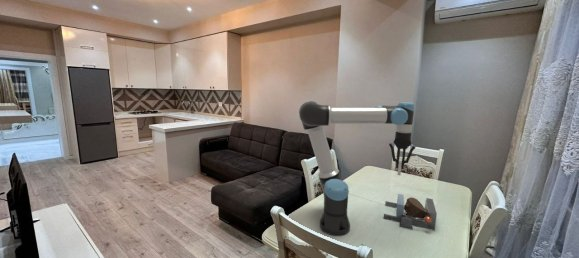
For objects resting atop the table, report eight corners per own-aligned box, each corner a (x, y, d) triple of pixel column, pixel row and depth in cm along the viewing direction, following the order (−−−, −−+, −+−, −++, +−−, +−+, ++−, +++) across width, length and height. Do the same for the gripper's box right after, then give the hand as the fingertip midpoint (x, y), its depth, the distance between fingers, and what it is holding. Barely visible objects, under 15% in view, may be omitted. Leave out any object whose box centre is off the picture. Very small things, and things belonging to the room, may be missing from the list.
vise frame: (435, 235, 113) (437, 218, 112) (382, 222, 124) (384, 207, 122) (430, 213, 133) (432, 199, 132) (385, 204, 143) (386, 190, 142)
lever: (405, 222, 119) (432, 224, 114) (404, 216, 119) (431, 218, 114) (404, 219, 122) (431, 221, 117) (404, 213, 122) (431, 215, 117)
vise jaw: (402, 221, 125) (404, 205, 124) (396, 219, 126) (397, 204, 125) (402, 209, 138) (404, 194, 136) (396, 207, 139) (397, 193, 137)
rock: (432, 215, 122) (421, 207, 119) (418, 228, 125) (406, 220, 122) (418, 199, 134) (407, 191, 131) (405, 211, 136) (394, 204, 133)
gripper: (417, 131, 124) (412, 174, 128) (390, 129, 130) (386, 170, 134) (417, 134, 117) (412, 179, 121) (389, 131, 123) (385, 174, 127)
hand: (399, 174), depth 127 cm, fingers closed
